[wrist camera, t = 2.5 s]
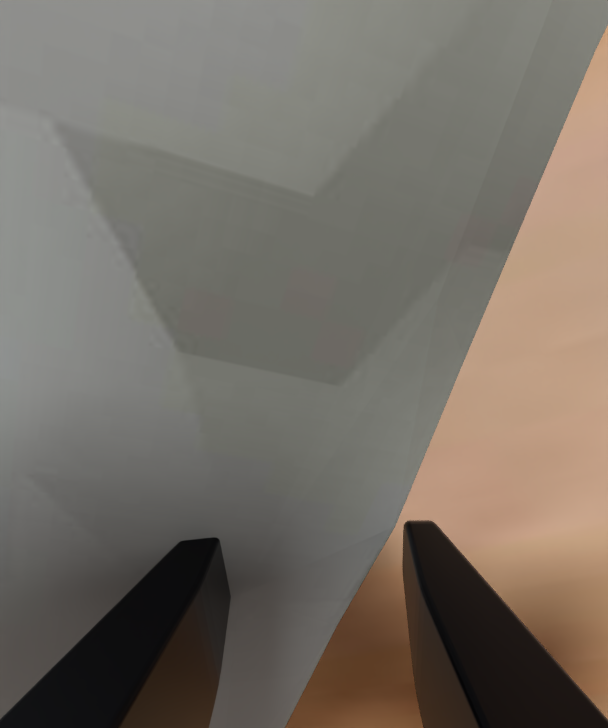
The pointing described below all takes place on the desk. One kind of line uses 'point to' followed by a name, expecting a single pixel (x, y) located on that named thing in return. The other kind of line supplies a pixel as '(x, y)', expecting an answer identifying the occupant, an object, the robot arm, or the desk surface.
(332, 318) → the light grey block
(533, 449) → the desk surface
